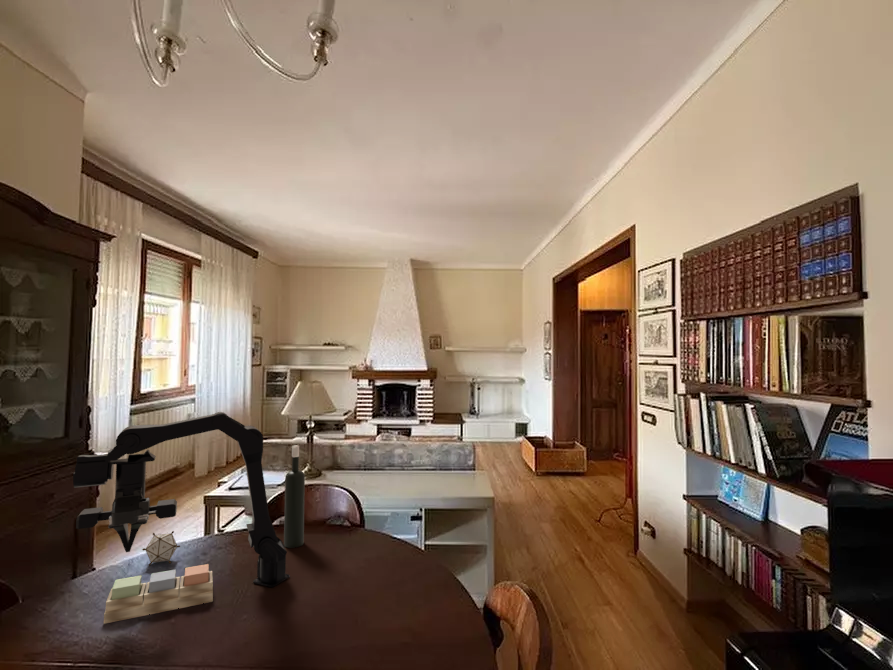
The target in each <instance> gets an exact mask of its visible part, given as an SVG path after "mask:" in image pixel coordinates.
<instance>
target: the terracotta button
mask: <svg viewBox="0 0 893 670" xmlns="http://www.w3.org/2000/svg"><path fill="white" fill-rule="evenodd" d="M209 568H210V567H209V563H207V564H206V563H205V564H200V565H194V566H189V567H185V570H184V576H185V580H184V586H190V585H195V584H200V583H206V582H208V575H209V571H210V570H209Z"/></svg>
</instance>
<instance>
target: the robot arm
mask: <svg viewBox="0 0 893 670" xmlns="http://www.w3.org/2000/svg"><path fill="white" fill-rule="evenodd" d="M216 430H217V431H218V430H219V432H220V431H221V432H222V433H223V434H225V435H227V436H228V437H230V439H232V440H234V441H236V442H237V445H238V447H239V450H240V453H241V456H242V459H243V461H244V464H245V470H246V471H245V472H246V478H247V484H248V485H247V486H248V492H249V498H250V505H251V513H252V520H251V523H246V527H247V531H248V537H247V540H248V543H249V546H250V548H251V549H252V548H254V549H253V550H254V552H255V554H257V555H258V560H257V564H256V565H257V567H256V568H257V569H256V570H257V571H256V577H257V578H255V579H253V583H254V584H256V585H260V586H265V587H268V588H274V587H275V586H277V585H279V584H280V583H282V582H283V581H285V580H287V579H289V578H290V576H291V575H290V574H287V573H286V567H287V565H286V564H287V563H286V562H287V561H286V560H287V552H288V551H287V549H286V547H285V546H284V542H283V541H282V539H281V538H279V537H278V536H277V533H276V530H275V528H274V525H273V522H272V520H271V517H270V513H269V506H268V499H267V493H266V486H265V477H264V469H263V464H262V460H263V455H264V454H263V453H264V436H263V433H262V432H261V431H260V430H259V429H258V428H257V427H255V426H254V425H245V424H243V423H241V422H239V421H238V420H236V419H234V418H232V417H230V416H229V415H227V413H226V412H224V411H223V412H222V411H218V412H217V411H216V412H215V413H213V414H208V415H207V414H206V415H203V416H197V417H194V418H193V417H192V418H188V419H184V420H179V421H173V422H168V423H164V424H136V425H135V424H134V425H130V426H127V427H125V428H123V430H122V431H121V432H119V434H118V435H117V437H116V440H115V446H114V447H113V448H110V449H109V451H108V452H107V453H106V454H104V453H103V454H94V455H93V454H91V455H89V454H81V455H78V456H77V457H76V464H75V468H74V472H73V474H72V485H73V488H75V489H76V488H84V487H95V486H103V485H104V486H105V485H107V483H108V481H110V480H113V478H114V465H116V467H115V486H114V487H115V488H114V489H115V490H114V499H113V502H112V504H111V510H106V511H104V508H103V506H101V507H100V506H99V507H91V508H84V509H83V510H82V511H81V512H80V513H79V515H77V517H76V520H75V529H77V530H82V529H90V528H94V527H95V526H96V525H97V524H99V523H98V522H101V521H108V522H109V524H108V526H107V527H108V529H113V530H114V531H116V533H117V534H118V536H119V538H120V541H121V543H122V546H123V548H124V550H125V551H124V552H125V553H130V552H131V551H132V548H133V547H132V546H133V544H134V541H135V539H136V537H137V534H138V532H139V530H140V528H141V526H142V525H146V524H147V523H148V521H149V517H150V515H155V516H156V517H157V518H158V519H160V520H161V519H169V518H174V517H176V516H177V511H178V500H176V499H175V498H173V499H163V500H158V502H157V503H156V505H151V504H150V503H151V502H150V497H146V474H147V473H146V471H147V462H149V463H150V462H155V460H156V455H155V454H153V453H152V452H151V451H150V450H149V449H150V448H152V447H154V446H156V445H159V444H161V443H163V442H168V441H171V440H176V439H180V438H185V437H188V436H194V435H199V434H203V433H207V432H212V431H216ZM141 451H145V452H143V453H140V452H141ZM125 455H128V456H127V458H122V457H124V456H125ZM129 525H130V531H129ZM129 532H130V533H129Z"/></svg>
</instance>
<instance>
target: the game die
mask: <svg viewBox="0 0 893 670" xmlns="http://www.w3.org/2000/svg"><path fill="white" fill-rule="evenodd" d="M174 533H175V531H174V530H172V532H171V533H163V534H162V533H160V534H155V532H152V536H153V537H152V538H151V539H150V541H149V543H148V544H147V545H146V547H145V548H143V547H142V549H141V550H142V551H145V553H146V554H147V557H148V559H149V561H150V562H149V564H148V566H152V564H153V563H161V562H168V563H169V564H171V562H172V561H171V559H172V557H173V555H174V553H175V551H176V550H177V549H178V548H180V547H181V545H178V544H177V542H176V539H175V536H174V535H173V534H174Z"/></svg>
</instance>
